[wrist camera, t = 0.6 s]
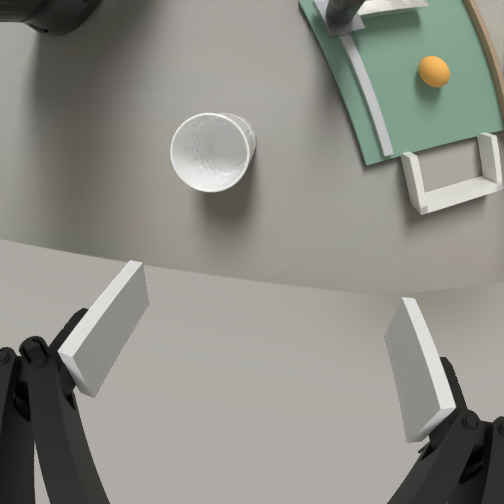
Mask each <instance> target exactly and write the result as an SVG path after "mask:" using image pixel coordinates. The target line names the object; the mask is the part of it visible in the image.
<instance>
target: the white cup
mask: <svg viewBox="0 0 504 504" xmlns="http://www.w3.org/2000/svg"><path fill="white" fill-rule="evenodd" d="M255 147H256V134H255V132H254V129H253V127H252V125H251V124H250V123H249V122H248V121H246V120H245V119H244V118H242V117H241V116H236V115H233V114H226V113H204V114H199V115H196V116H193V117H191V118H189V119H188V120H186V121H185V122H184V123H183V124H182V125H181V126H180V127H179V128H178V129H177V131H176V132H175V134H174V137H173V139H172V143H171V149H170V155H171V161H172V165H173V167H174V169H175V171H176V173H177V175H178V176H179V177H180V178H181V180H182V181H184V182H185V183H186V184H187V185H189V186H190V187H192V188H194V189H196V190H199V191H203V192H219V191H223V190H226V189H228V188H230V187H232V186H233V185H235V184H236V183H237V182H238V181H239V180H240V179H241V178H242V176H243V175H244V173H245V171H246V169H247V167H248V165H249V163H250V161H251V159H252V156H253V154H254V150H255Z"/></svg>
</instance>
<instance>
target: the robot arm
mask: <svg viewBox="0 0 504 504" xmlns="http://www.w3.org/2000/svg"><path fill="white" fill-rule="evenodd" d="M99 2H100V0H0V22H21V23H24V24H26V25H28V26H29V27H31V28H33V29H35V30H36V31H38V32H40V33H42V34H45V35H63V34H66V33H68V32H70V31H72V30H73V29H75V28H76V27H78V26H79V25H80V24H81V23H83V22H84V21H85V20H86V19H87V18H88V17H89V15H90V14H91V13H92V12H93V11H94V9H95V8H96V6H97V5H98V3H99ZM148 305H149V300H148V294H147V288H146V282H145V275H144V267H143V262H137V261H131V260H130V261H129V262H128V263H127V265H126V266H125V267H124V268H123V269H122V270H121V271H120V273H119V274H118V275H117V276H116V277H115V279H114V280H113V281H112V282H111V283H110V284H109V286H108V287H107V288H106V289H105V290H104V292H103V293H102V294H101V295H100V297H99V298H98V299H97V300H96V302H95V303H94V304H93V305H92V307H91V308H90V309H85V308H82V309H81V310H79V311H78V312H76V313H75V314H74V315H73V316H72V317H71V319H70V320H69V322H68V323H67V324H66V325H65V326H64V329H62V330H61V331H60V333H59V334H58V335H57V336H56V338H55V339H54V340H53V342H52V343H51V344H50V346H49V347H48V346H47V344H46V342H45V340H44V339H43V338H42V337H39V336H32V337H30V338H27V339H26V340H25V341H23V342H22V344H21V345H20V348H19V352H20V354H21V356H17V355H16V353H15V352H14V350H13V349H12V348H9V347H4V348H1V349H0V504H35V489H34V443H35V444H36V449H37V454H38V459H39V463H40V468H41V472H42V476H43V480H44V483H45V487H46V490H47V494H48V497H49V500H50V504H110V503H109V500H108V498H107V496H106V493H105V491H104V488H103V486H102V483H101V481H100V478H99V476H98V473H97V470H96V467H95V465H94V462H93V459H92V456H91V453H90V450H89V447H88V443H87V440H86V437H85V433H84V430H83V426H82V422H81V419H80V415H79V411H78V407H77V403H76V398H75V394H74V392H73V389H74V388H75V386H77V387H78V389H79V391H80V392H81V393H83V394H85V395H88V396H90V397H93V398H95V396H96V394H97V393H98V391H99V389H100V387H101V385H102V384H103V382H104V380H105V378H106V376H107V374H108V373H109V371H110V369H111V367H112V366H113V364H114V362H115V360H116V359H117V357H118V355H119V354H120V352H121V350H122V349H123V347H124V345H125V343H126V342H127V340H128V338H129V337H130V335H131V333H132V332H133V330H134V328H135V327H136V325H137V323H138V322H139V320H140V318H141V317H142V315H143V314H144V312H145V310H146V309H147V307H148ZM384 337H385V341H386V345H387V349H388V353H389V357H390V361H391V365H392V370H393V374H394V378H395V383H396V387H397V392H398V397H399V401H400V407H401V412H402V417H403V423H404V429H405V435H406V441H407V443H411V442H420V441H422V440H424V439H425V438H426V437H427V436H428V435H429V439H430V441H429V442H428V443H427V444H426V445H425V446H424V447H423V448H422V449H420V450H419V451H418V453H421V452H422V453H421V455H420V456H419V458H418V460H417V462H416V463H415V464H414V466H413V468H412V469H411V471H410V472H409V474H408V475H407V477H406V478H405V480H404V481H403V483H402V484H401V485H400V487H399V488H398V490H397V491H396V492H395V494H394V495H393V496H392V498H391V499H390V500H389V502H388V503H387V504H446V503H447V504H504V417H502V416H500V417H498V418H497V419H496V420H495V421H494V422H492V423H491V422H486V421H481V420H480V419H479V417H478V416H477V414H476V413H474V412H473V411H471V410H468V409H467V406H466V403H465V400H464V397H463V394H462V391H461V388H460V385H459V383H458V380H457V377H456V376H455V372H454V369H453V366H452V365H451V363H450V362H449V361H448V359H447V358H446V357H439V355H438V353H437V350H436V348H435V345H434V343H433V340H432V338H431V335H430V333H429V330H428V328H427V326H426V323H425V321H424V319H423V316H422V314H421V312H420V310H419V307H418V305H417V303H416V301H415V299H414V298H404V297H402V298H401V301H400V303H399V306H398V308H397V310H396V312H395V314H394V317H393V319H392V321H391V323H390V325H389V328H388V330H387V332H386V334H385V336H384Z"/></svg>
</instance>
